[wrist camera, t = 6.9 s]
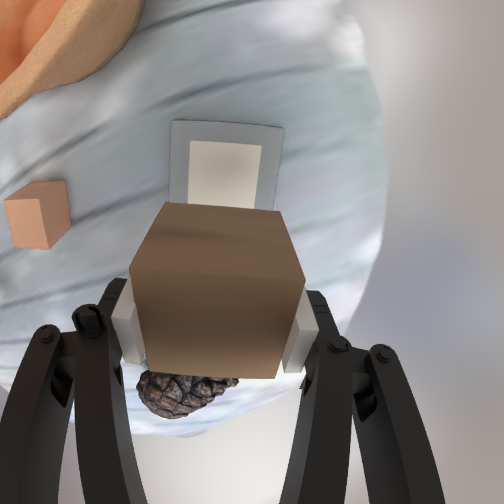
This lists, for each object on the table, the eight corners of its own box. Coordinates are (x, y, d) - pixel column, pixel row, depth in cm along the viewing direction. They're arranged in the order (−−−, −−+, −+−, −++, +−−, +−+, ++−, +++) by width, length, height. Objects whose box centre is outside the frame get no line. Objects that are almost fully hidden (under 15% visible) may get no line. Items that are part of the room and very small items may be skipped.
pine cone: (248, 357, 44) (253, 409, 36) (171, 387, 48) (167, 431, 40) (209, 323, 39) (207, 380, 31) (131, 359, 43) (120, 407, 35)
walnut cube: (263, 299, 18) (274, 378, 12) (168, 292, 17) (149, 370, 12) (279, 211, 15) (305, 280, 9) (165, 202, 14) (129, 267, 9)
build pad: (268, 224, 32) (269, 228, 31) (171, 218, 30) (169, 222, 29) (282, 127, 26) (284, 128, 25) (173, 119, 25) (171, 120, 24)
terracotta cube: (71, 225, 30) (49, 249, 24) (38, 224, 29) (14, 247, 24) (65, 180, 27) (38, 198, 21) (31, 182, 26) (3, 200, 21)
